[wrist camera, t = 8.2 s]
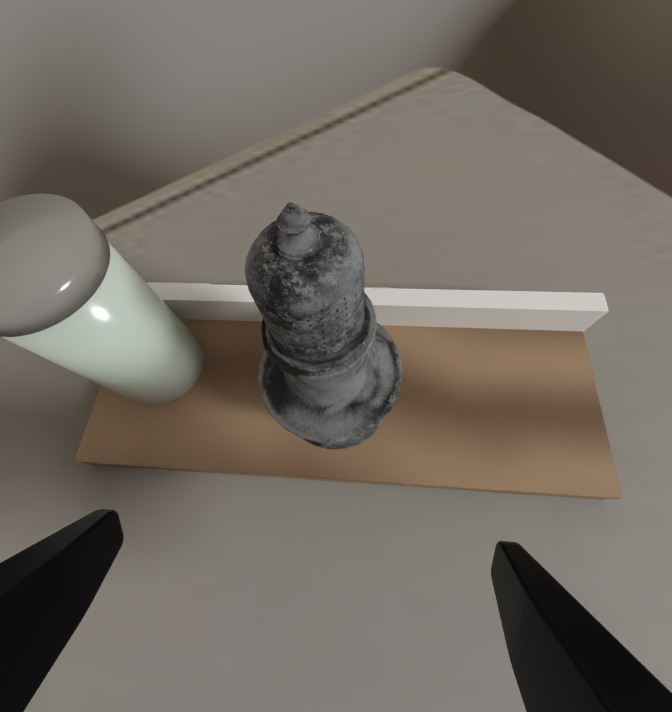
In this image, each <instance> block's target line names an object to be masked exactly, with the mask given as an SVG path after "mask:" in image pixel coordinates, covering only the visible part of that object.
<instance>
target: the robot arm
mask: <svg viewBox="0 0 672 712" xmlns="http://www.w3.org/2000/svg"><path fill="white" fill-rule="evenodd" d="M122 543H123V531H122V527H121V524H120V520H119V516H118V513H117V512H116V511H114V510H105V509H99V510H96V511H94V512H92V513H90V514H89V515H87V516H85V517H83V518H81V519H79V520H78V521H76V522H74V523H72V524H70V525H69V526H67V527H65V528H63V529H61V530H59V531H58V532H56V533H54V534H52V535H50V536H49V537H47V538H45V539H43V540H41V541H39V542H38V543H36V544H34V545H32V546H30V547H29V548H27V549H25V550H23V551H21V552H19V553H18V554H16V555H14V556H12V557H10V558H8V559H7V560H5V561H3V562H1V563H0V712H23V711H24V710H25V708H26V707H27V705H28V704H29V702H30V700H31V699H32V697H33V696H34V694H35V693H36V691H37V689H38V688H39V686H40V685H41V683H42V682H43V680H44V678H45V677H46V675H47V674H48V672H49V671H50V669H51V667H52V666H53V664H54V663H55V661H56V660H57V658H58V656H59V655H60V653H61V652H62V650H63V649H64V647H65V645H66V644H67V642H68V641H69V639H70V638H71V636H72V634H73V633H74V631H75V630H76V628H77V627H78V625H79V623H80V622H81V620H82V618H83V617H84V615H85V613H86V612H87V610H88V608H89V606H90V605H91V603H92V601H93V599H94V597H95V595H96V593H97V591H98V590H99V588H100V586H101V584H102V582H103V580H104V578H105V576H106V574H107V573H108V571H109V569H110V567H111V565H112V563H113V561H114V559H115V557H116V556H117V554H118V552H119V550H120V548H121V546H122ZM491 576H492V582H493V586H494V591H495V595H496V600H497V604H498V609H499V613H500V618H501V622H502V626H503V631H504V635H505V640H506V644H507V649H508V653H509V657H510V661H511V664H512V667H513V671H514V674H515V677H516V680H517V683H518V687H519V690H520V693H521V696H522V699H523V702H524V705H525V708H526V711H527V712H672V693H671V692H670V691H669V690H668V689H667V688H666V687H665V686H664V685H663V684H662V683H661V682H660V681H659V680H658V679H657V678H656V677H655V676H654V675H653V674H652V673H651V672H650V671H649V670H648V669H647V668H646V667H645V666H643V665H642V664H641V663H640V662H639V661H638V660H637V659H636V658H635V657H634V656H633V655H632V654H631V653H630V652H629V651H628V650H627V649H626V648H625V647H624V646H623V645H622V644H621V643H620V642H619V641H618V640H617V639H616V638H615V637H614V636H613V635H612V634H611V633H610V632H609V631H608V630H607V629H606V628H605V627H604V626H603V625H602V624H601V623H599V622H598V621H597V620H596V619H595V618H594V617H593V616H592V615H591V614H590V613H589V612H588V611H587V610H586V609H585V608H584V607H583V606H582V605H581V604H580V603H579V602H578V601H577V600H576V599H575V598H574V597H573V596H572V595H571V594H570V593H569V592H568V591H567V590H566V589H565V588H564V587H563V586H562V585H561V584H560V583H559V582H558V581H557V580H555V579H554V578H553V577H552V576H551V575H550V574H549V573H548V572H547V571H546V570H545V569H544V568H543V567H542V566H541V565H540V564H539V563H538V562H537V561H536V560H535V559H534V558H533V557H532V556H531V555H530V554H529V553H528V552H527V551H526V550H525V549H524V548H523V547H522V546H521V545H519V544H518V543H516V542H507V541H499V542H498V543H497V544H496V548H495V553H494V557H493V562H492V567H491Z"/></svg>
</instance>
